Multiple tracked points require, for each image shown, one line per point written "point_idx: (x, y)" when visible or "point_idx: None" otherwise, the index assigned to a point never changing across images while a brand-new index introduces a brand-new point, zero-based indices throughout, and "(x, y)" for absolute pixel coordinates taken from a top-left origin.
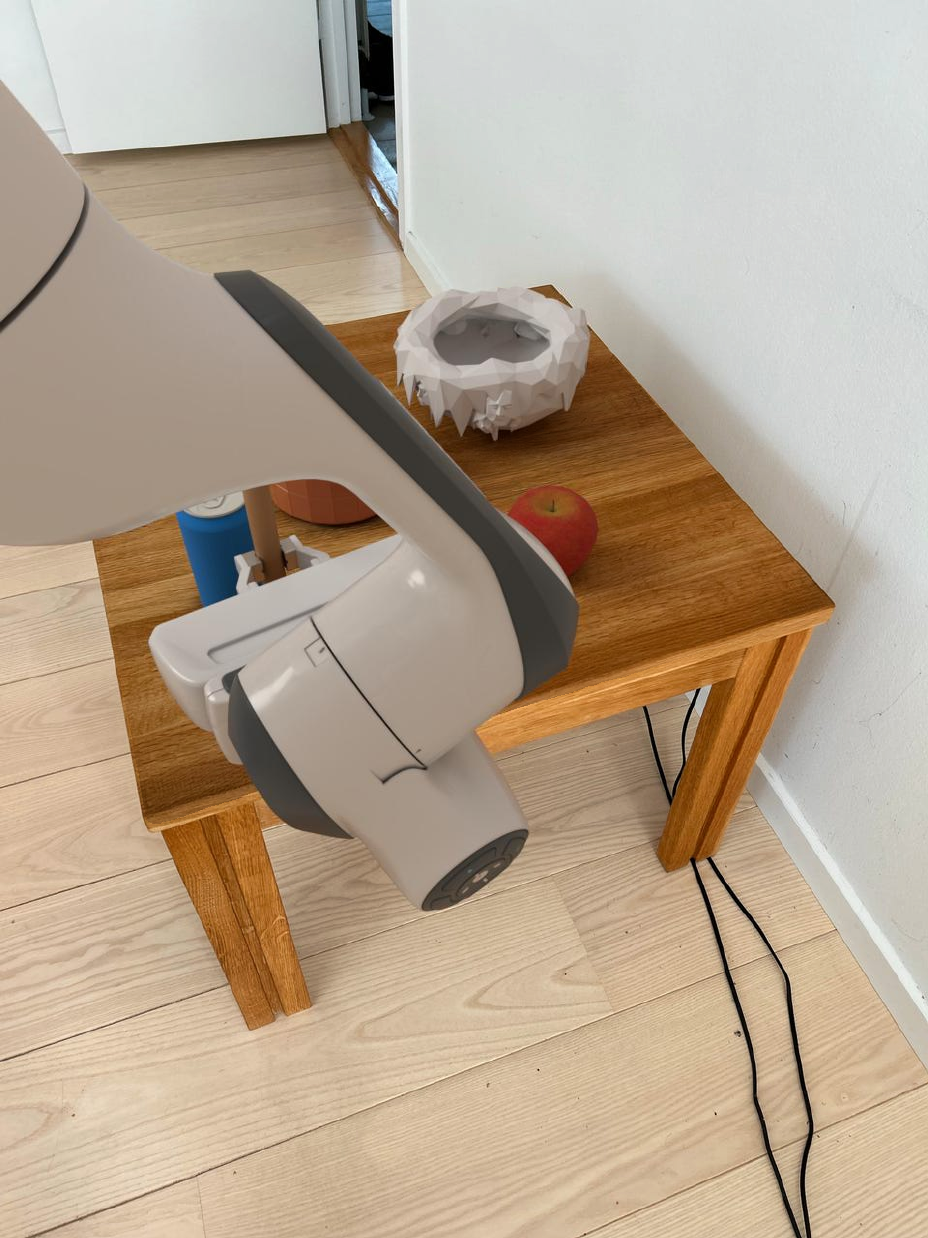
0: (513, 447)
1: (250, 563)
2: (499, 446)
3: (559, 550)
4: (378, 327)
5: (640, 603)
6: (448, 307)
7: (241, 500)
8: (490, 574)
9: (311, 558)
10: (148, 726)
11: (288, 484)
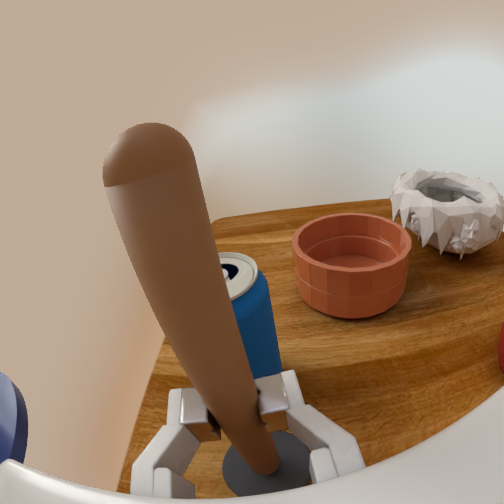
0: (467, 266)
1: (185, 417)
2: (458, 265)
3: None
4: (372, 200)
5: None
6: (421, 176)
7: (239, 289)
8: None
9: (315, 438)
10: (128, 475)
11: (311, 280)
